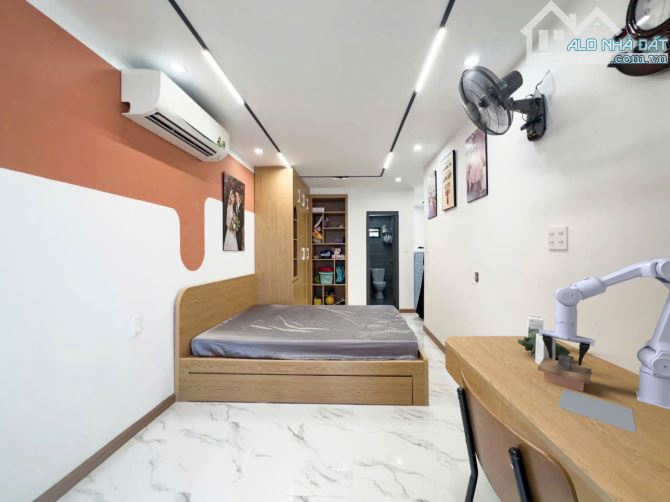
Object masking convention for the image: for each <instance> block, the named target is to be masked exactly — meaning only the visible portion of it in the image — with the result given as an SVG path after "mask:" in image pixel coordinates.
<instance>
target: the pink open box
mask: <svg viewBox="0 0 670 502" xmlns="http://www.w3.org/2000/svg"><path fill="white" fill-rule="evenodd" d="M543 381H544V382H547V383H552V384H554V385H558V386H561V387H564V388H569V389H573V390H575V391H579V392H582V393H583V392H584V388H585V384H586V383H583V382H580V381H576V380H572V379H569V378H565V377H561V376H558V375H554V374H550V373H547V372H543Z"/></svg>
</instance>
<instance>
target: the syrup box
mask: <svg viewBox="0 0 670 502" xmlns="http://www.w3.org/2000/svg"><path fill="white" fill-rule="evenodd" d="M539 330H544V319H543V317H542V316H534V315H527V318H526V337H533V336H534V335H535V334H536V333H537V332H538V333H539Z"/></svg>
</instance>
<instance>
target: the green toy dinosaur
mask: <svg viewBox="0 0 670 502" xmlns="http://www.w3.org/2000/svg"><path fill="white" fill-rule="evenodd" d="M537 334H539V333H538V332H537ZM517 344H519V345H521V346H522V347H524V350H525V351H526V352H529V355H531V356H532V357H534V358H535V353H536V334H535V335H534V336H533V337H527V336H526V337H525V336H524V337H523V339H517ZM560 354H565V355H569V356H570V355H571V352H570V351H569V350H568V349H567V347H565V346H563V345H561V344H560V343H558V342H556V345H555V359H556V358H558V357H559V355H560ZM574 359H575V357H574V356H572V355H571V362H573V361H574Z"/></svg>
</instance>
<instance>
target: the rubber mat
mask: <svg viewBox="0 0 670 502" xmlns="http://www.w3.org/2000/svg"><path fill="white" fill-rule="evenodd" d="M559 398H560V399H559V402H558V404H557V408H559V409H562V410H566V411H569V412H572V413H573V414H576V415H580V416H583V417H585V418H589V419H592V420H594V421H597V422H601V423H604V424H606V425H609V426H613V427H616V428H619V429H622V430H624V431H628V432H631V433H633V434H636V433H637V432H636V425H635V419H634V413H633V409H632V408H629V407H626V406H622V405H619V404H615V403H613V402H608V401H605V400H603V399H602V400H601V399H599V398H596V397H592V396H589V395H585V394H583V393H578V392H576V391H575V392H574V391H572V390H568V389H565V388H564V389H563V390H562V392H561V396H560V397H559Z"/></svg>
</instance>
